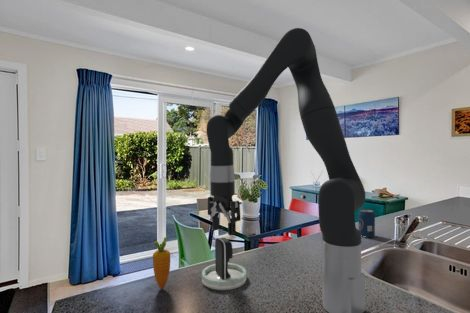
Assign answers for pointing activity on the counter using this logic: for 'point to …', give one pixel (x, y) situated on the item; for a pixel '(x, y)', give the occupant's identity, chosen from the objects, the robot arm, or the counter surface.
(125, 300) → the counter surface
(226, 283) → the dish
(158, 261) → the carrot
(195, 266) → the counter surface
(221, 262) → the battery charger
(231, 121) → the robot arm
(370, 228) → the soda can
